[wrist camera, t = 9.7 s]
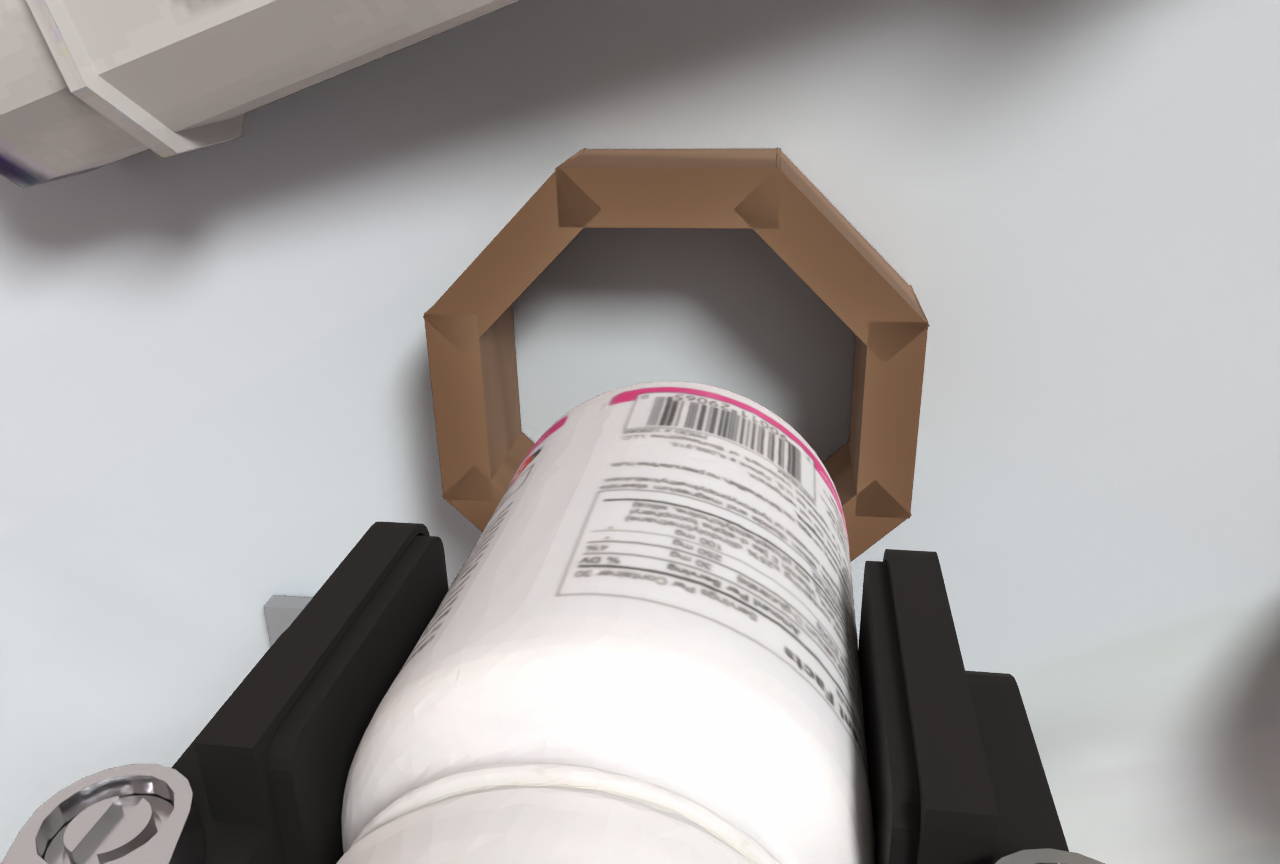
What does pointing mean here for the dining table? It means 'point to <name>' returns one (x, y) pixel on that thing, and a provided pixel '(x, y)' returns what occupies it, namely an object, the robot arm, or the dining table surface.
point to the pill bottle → (634, 659)
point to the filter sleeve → (681, 198)
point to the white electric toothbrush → (178, 69)
